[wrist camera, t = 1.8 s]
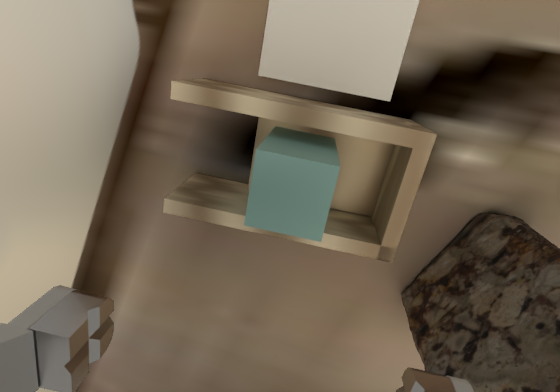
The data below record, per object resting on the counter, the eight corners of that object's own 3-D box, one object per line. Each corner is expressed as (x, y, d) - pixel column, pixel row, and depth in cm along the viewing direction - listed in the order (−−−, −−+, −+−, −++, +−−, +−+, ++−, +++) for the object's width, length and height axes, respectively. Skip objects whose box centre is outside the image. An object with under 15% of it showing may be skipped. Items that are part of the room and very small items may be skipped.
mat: (432, -55, 25) (436, -59, 24) (388, 100, 29) (389, 101, 28) (283, -82, 25) (282, -86, 24) (259, 75, 29) (258, 75, 28)
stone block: (447, 326, 35) (586, 611, 17) (389, 295, 35) (466, 552, 16) (542, 227, 31) (882, 469, 12) (477, 190, 30) (726, 382, 12)
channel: (411, 119, 29) (437, 134, 22) (378, 223, 32) (392, 262, 26) (204, 78, 30) (171, 80, 23) (194, 184, 33) (163, 212, 27)
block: (335, 138, 28) (340, 166, 20) (321, 193, 30) (321, 242, 22) (275, 126, 28) (256, 149, 20) (265, 182, 30) (243, 225, 22)
